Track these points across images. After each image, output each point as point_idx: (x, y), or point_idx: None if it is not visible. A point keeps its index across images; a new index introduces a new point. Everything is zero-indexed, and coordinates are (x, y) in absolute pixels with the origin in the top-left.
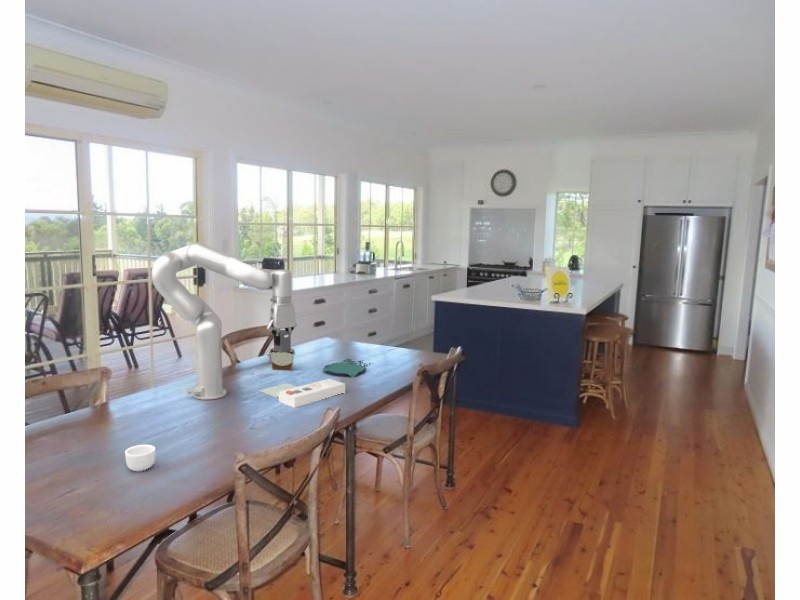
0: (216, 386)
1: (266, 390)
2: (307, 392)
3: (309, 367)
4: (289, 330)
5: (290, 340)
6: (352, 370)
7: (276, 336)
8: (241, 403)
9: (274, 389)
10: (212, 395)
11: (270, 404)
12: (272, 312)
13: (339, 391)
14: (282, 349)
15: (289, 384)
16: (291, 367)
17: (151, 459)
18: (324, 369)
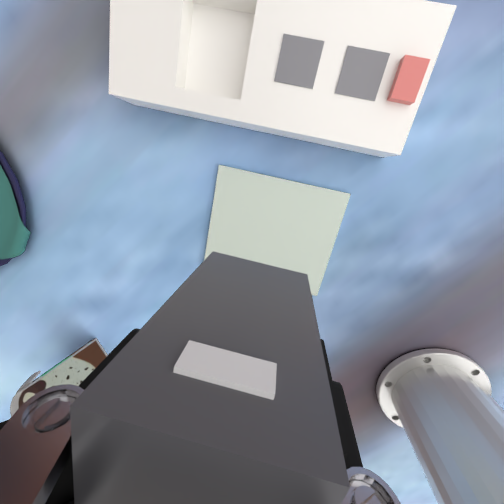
0: (470, 390)
1: (308, 273)
2: (342, 16)
3: (32, 316)
4: (33, 471)
5: (172, 297)
6: None
7: (358, 476)
8: (463, 259)
9: (283, 258)
10: (462, 371)
11: (428, 160)
12: None
13: None
14: (300, 284)
15: (208, 251)
16: (87, 346)
17: None
18: (19, 244)
